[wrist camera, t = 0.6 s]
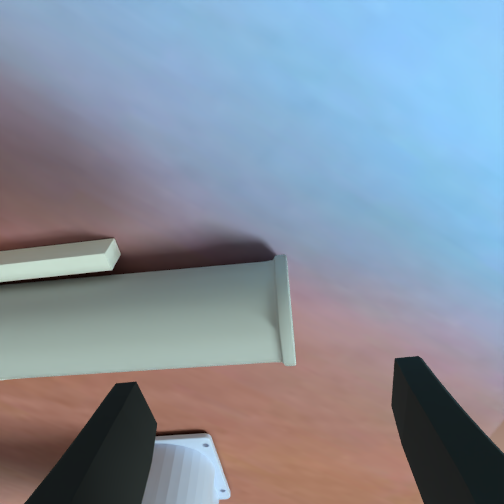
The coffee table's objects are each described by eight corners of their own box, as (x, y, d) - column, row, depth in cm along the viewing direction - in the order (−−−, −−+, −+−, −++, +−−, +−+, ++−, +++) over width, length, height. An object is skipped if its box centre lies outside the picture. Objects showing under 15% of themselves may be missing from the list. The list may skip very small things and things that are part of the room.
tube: (-145, 409, 21) (298, 383, 19) (-255, 375, 17) (293, 337, 15) (-93, 324, 25) (289, 293, 22) (-175, 278, 21) (284, 235, 18)
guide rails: (158, 349, 24) (153, 367, 23) (-75, 369, 25) (-92, 387, 24) (114, 238, 19) (104, 253, 18) (-166, 270, 21) (-192, 286, 20)
